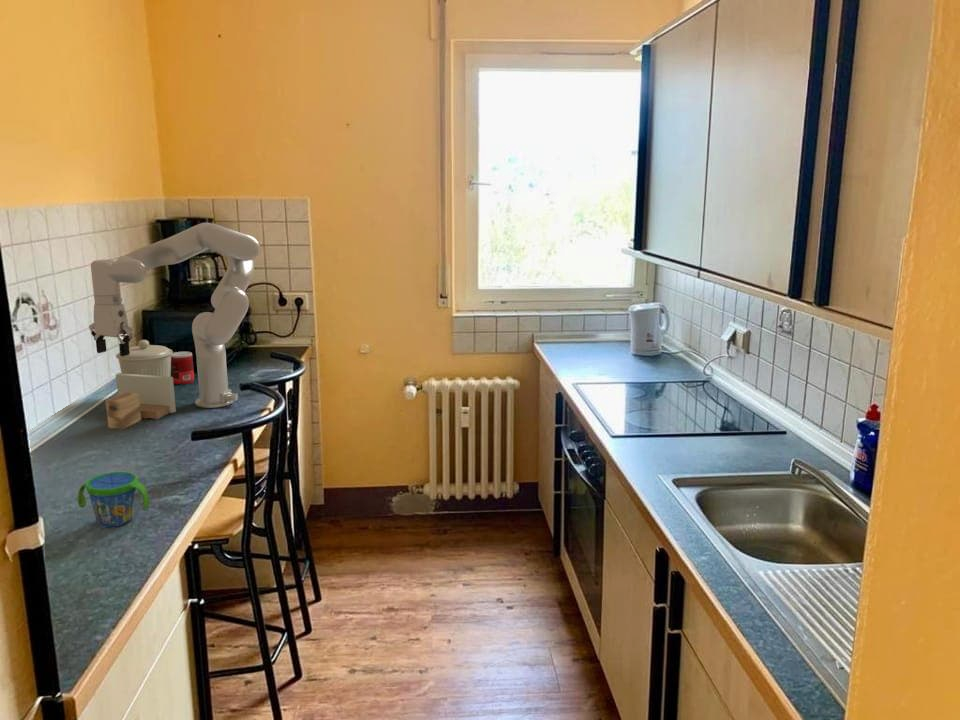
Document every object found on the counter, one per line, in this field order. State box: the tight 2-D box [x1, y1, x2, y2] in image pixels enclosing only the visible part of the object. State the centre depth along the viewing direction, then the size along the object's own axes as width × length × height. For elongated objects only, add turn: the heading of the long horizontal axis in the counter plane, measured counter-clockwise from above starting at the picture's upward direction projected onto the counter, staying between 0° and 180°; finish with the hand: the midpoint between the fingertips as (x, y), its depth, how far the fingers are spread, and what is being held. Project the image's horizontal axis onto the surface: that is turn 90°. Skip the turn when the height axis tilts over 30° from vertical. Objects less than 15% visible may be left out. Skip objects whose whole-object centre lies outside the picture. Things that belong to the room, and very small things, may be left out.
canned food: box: [171, 351, 195, 385], centre depth 287 cm, size 8×8×11 cm
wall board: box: [115, 372, 177, 420], centre depth 250 cm, size 20×8×12 cm, turn 77°
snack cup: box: [77, 471, 150, 528], centre depth 174 cm, size 16×10×10 cm
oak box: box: [105, 393, 142, 430], centre depth 239 cm, size 5×10×9 cm, turn 167°
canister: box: [115, 339, 174, 377], centre depth 265 cm, size 18×18×21 cm
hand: (113, 353), depth 240 cm, fingers open, 9 cm apart
